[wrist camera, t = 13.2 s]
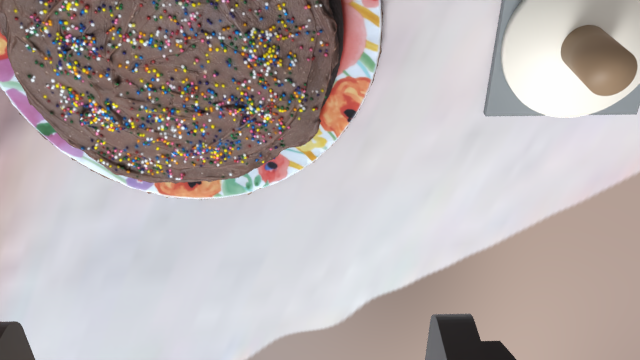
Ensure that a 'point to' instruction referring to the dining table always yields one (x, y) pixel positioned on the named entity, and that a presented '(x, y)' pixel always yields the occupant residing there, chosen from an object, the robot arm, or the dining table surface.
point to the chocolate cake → (190, 85)
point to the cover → (572, 54)
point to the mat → (507, 102)
